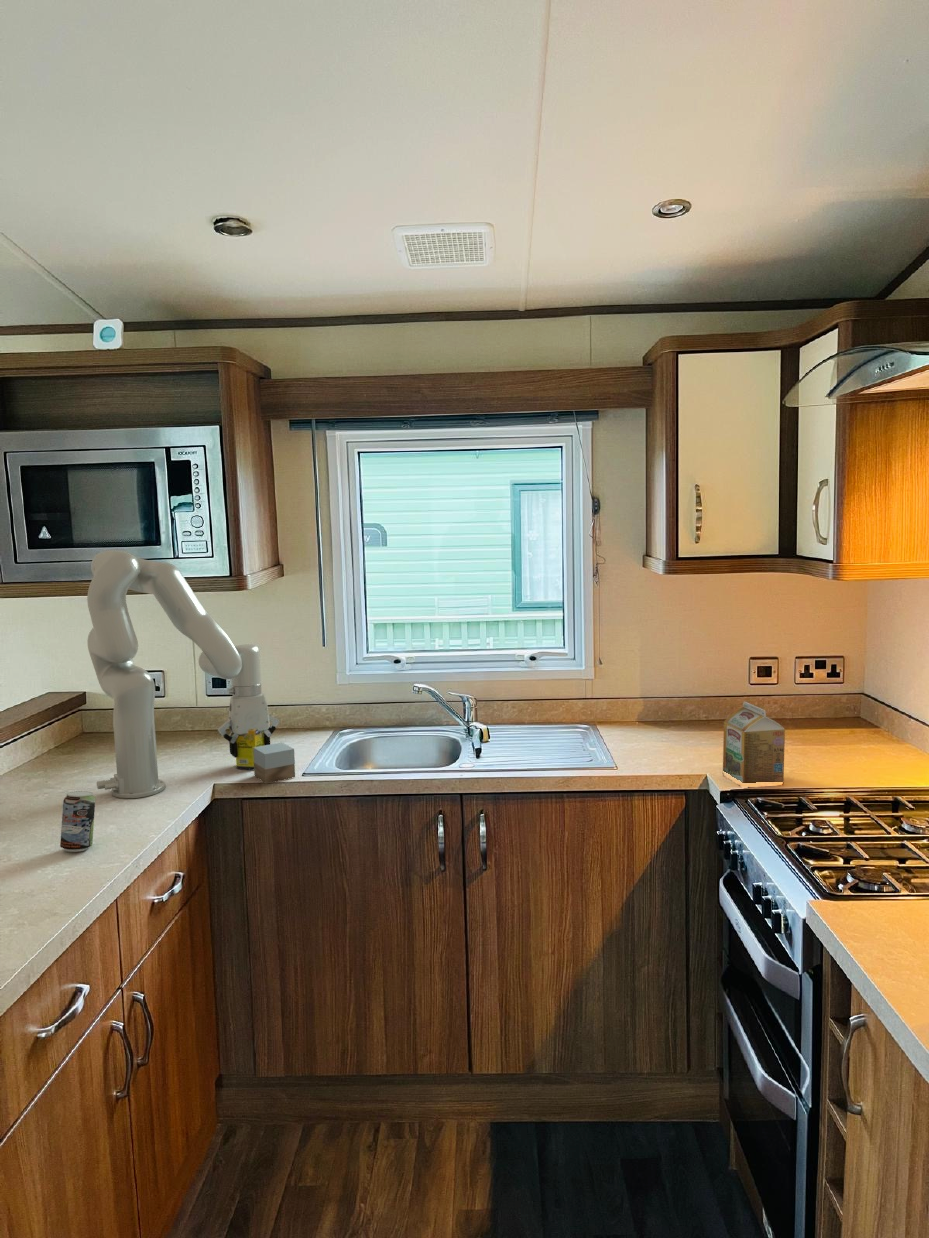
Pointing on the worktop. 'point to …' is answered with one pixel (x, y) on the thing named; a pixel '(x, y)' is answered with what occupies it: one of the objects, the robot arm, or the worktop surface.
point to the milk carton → (753, 746)
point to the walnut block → (274, 773)
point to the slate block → (273, 755)
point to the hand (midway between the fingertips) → (250, 753)
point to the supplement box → (248, 748)
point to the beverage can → (77, 821)
